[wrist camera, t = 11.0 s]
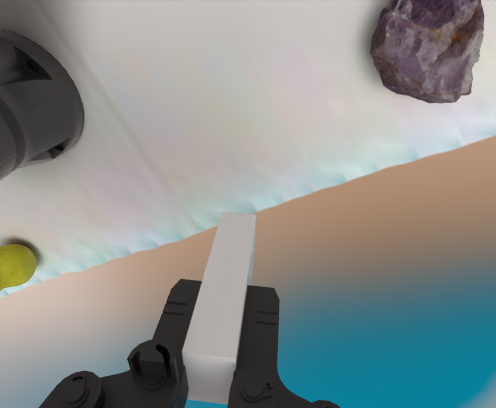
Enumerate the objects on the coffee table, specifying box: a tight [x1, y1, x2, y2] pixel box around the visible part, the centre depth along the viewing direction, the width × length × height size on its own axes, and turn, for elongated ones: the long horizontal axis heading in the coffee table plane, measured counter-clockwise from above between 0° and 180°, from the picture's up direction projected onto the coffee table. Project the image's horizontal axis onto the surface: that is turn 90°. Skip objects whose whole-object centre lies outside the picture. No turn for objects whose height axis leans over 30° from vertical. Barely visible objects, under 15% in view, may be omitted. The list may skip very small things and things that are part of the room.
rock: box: [370, 0, 484, 103], centre depth 30 cm, size 12×9×10 cm
